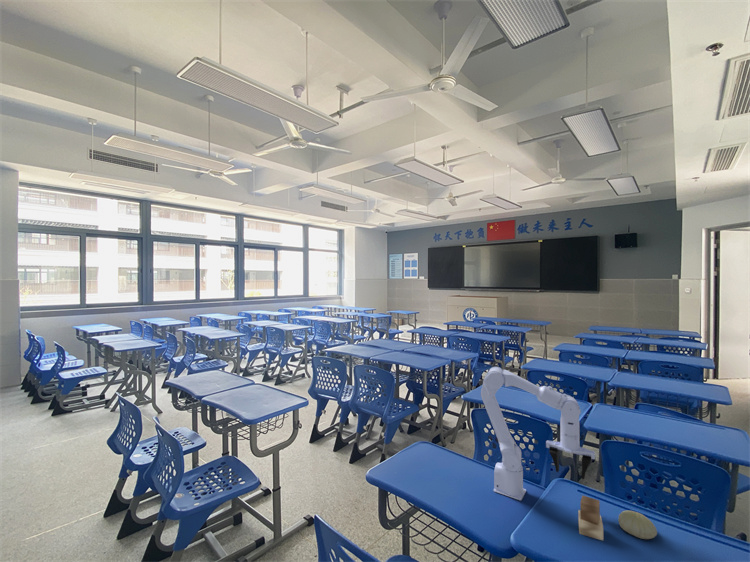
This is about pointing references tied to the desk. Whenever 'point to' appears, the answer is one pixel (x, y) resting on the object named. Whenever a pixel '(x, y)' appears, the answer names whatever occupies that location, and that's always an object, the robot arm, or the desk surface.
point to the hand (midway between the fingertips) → (570, 474)
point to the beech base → (590, 528)
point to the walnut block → (590, 509)
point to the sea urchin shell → (637, 525)
